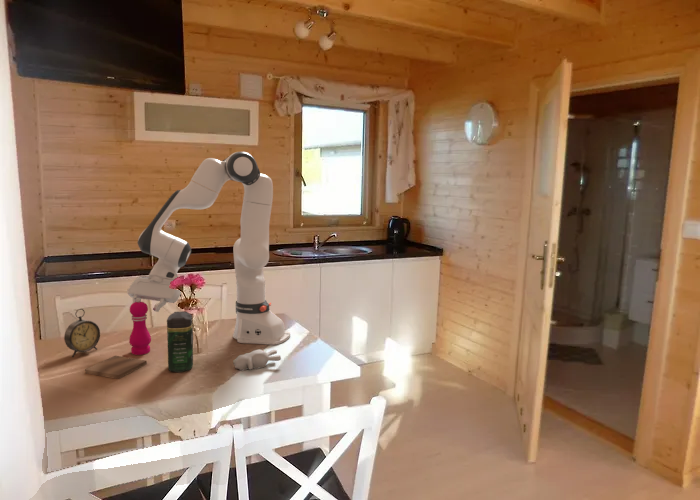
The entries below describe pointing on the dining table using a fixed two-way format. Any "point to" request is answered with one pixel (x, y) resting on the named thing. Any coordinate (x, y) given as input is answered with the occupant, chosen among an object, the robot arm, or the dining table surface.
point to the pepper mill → (139, 329)
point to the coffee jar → (180, 341)
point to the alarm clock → (82, 335)
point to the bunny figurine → (255, 359)
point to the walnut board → (116, 367)
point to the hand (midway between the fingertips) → (144, 309)
